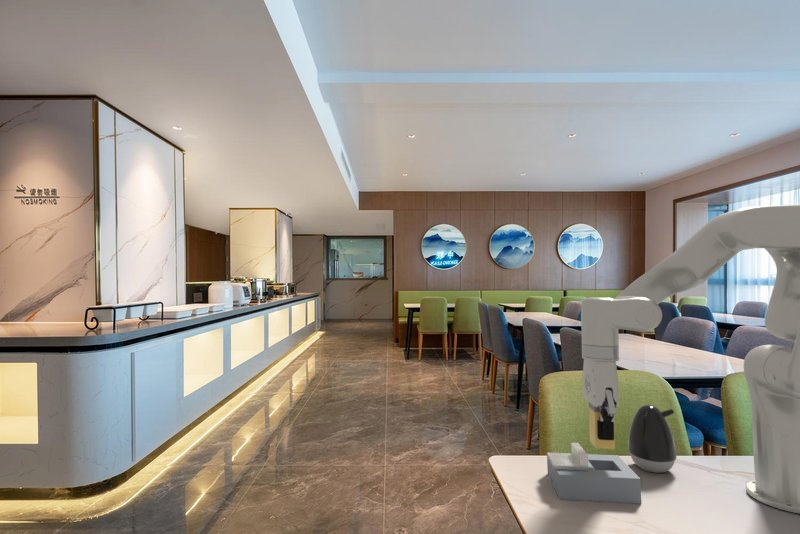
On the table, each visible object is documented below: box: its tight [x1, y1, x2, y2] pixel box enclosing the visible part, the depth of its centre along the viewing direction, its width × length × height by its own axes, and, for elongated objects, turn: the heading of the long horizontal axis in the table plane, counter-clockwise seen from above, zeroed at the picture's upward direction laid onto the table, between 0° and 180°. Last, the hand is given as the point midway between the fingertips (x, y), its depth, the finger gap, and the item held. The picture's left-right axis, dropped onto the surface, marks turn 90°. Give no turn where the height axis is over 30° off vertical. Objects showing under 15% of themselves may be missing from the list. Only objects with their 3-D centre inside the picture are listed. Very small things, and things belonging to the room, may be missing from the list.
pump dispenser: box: [627, 404, 677, 474], centre depth 102 cm, size 10×10×15 cm
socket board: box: [546, 452, 642, 505], centre depth 92 cm, size 16×12×5 cm
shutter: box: [546, 442, 588, 471], centre depth 93 cm, size 7×7×3 cm
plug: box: [588, 402, 616, 450], centre depth 92 cm, size 4×4×10 cm
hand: (602, 434), depth 92 cm, fingers closed on plug, 4 cm apart
